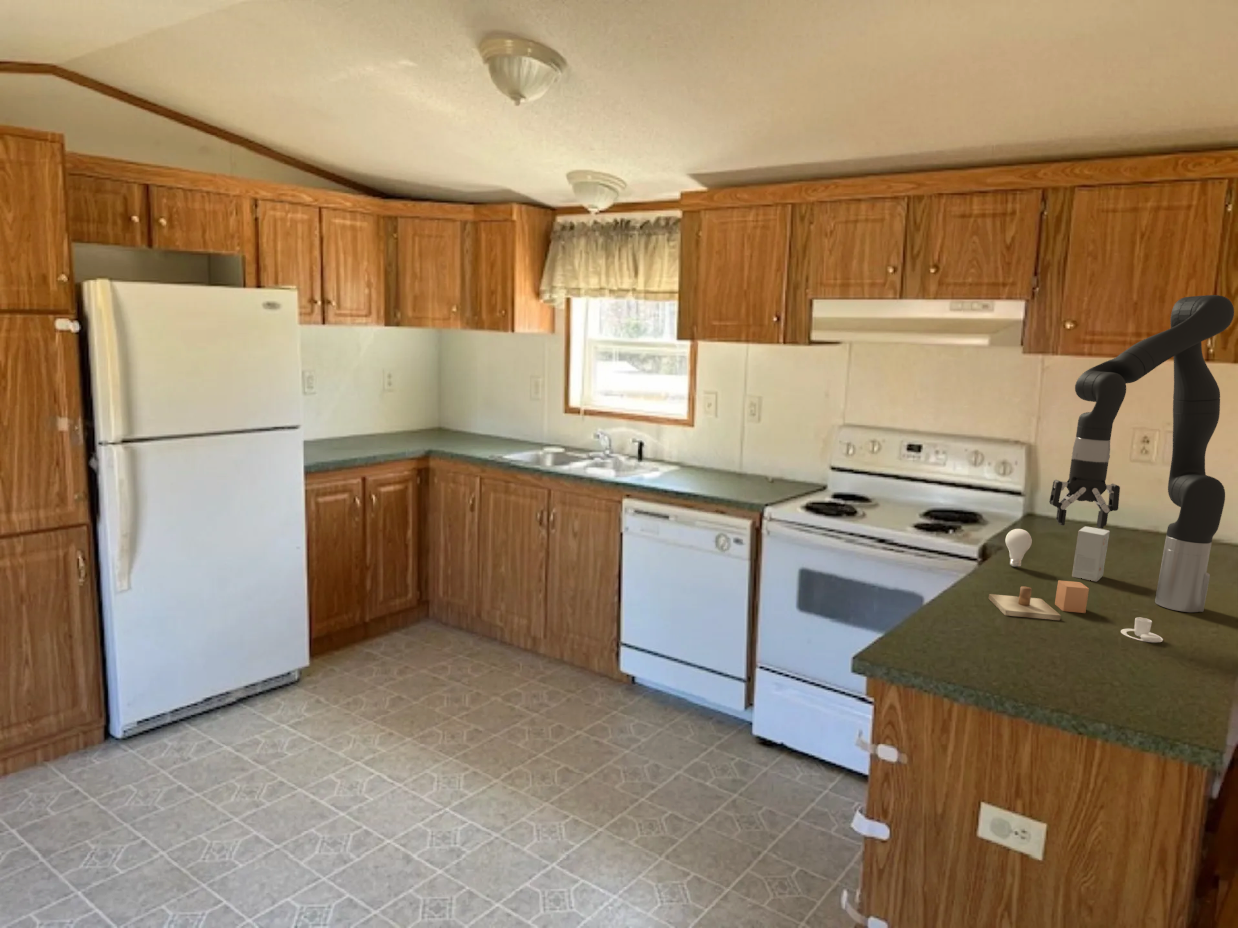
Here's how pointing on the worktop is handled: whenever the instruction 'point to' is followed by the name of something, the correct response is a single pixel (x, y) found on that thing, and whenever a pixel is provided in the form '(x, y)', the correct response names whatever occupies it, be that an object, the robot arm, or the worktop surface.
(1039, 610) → the post base
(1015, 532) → the light bulb
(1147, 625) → the white ring and cup
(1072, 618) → the worktop surface
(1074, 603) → the salmon cube
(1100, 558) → the small box
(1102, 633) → the worktop surface
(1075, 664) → the worktop surface
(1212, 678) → the worktop surface
